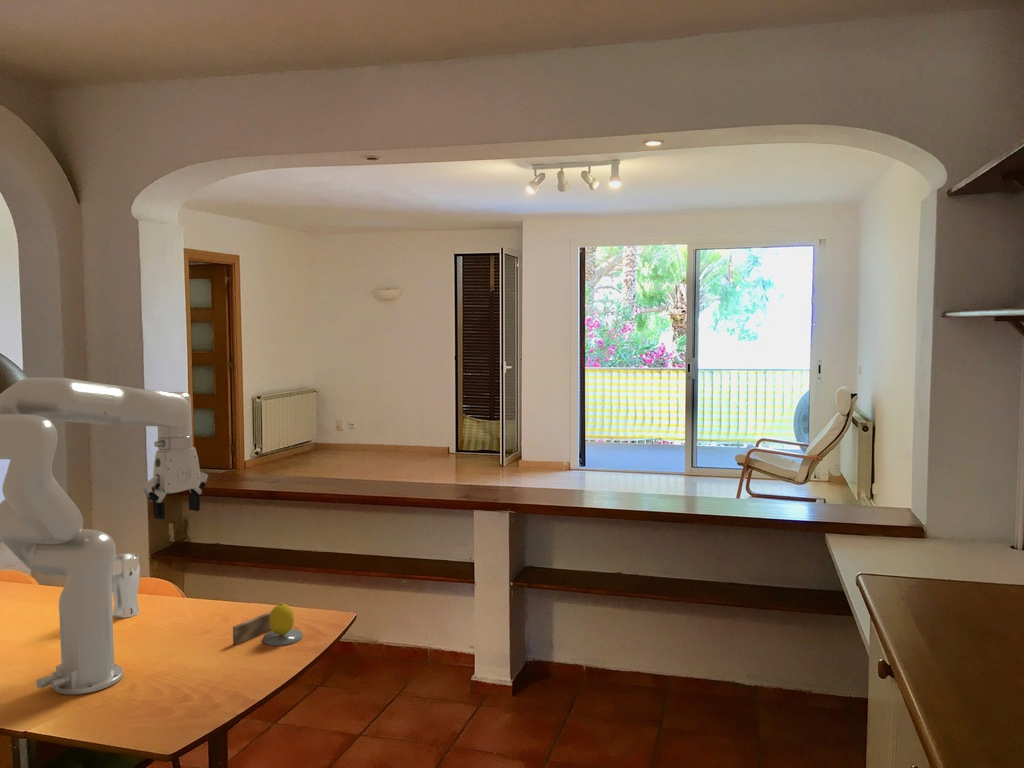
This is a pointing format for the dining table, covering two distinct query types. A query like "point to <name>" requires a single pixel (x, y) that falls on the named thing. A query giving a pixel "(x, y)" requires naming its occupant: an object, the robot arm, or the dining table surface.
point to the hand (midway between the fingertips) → (177, 514)
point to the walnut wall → (251, 628)
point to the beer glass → (125, 585)
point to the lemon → (281, 619)
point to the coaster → (282, 638)
